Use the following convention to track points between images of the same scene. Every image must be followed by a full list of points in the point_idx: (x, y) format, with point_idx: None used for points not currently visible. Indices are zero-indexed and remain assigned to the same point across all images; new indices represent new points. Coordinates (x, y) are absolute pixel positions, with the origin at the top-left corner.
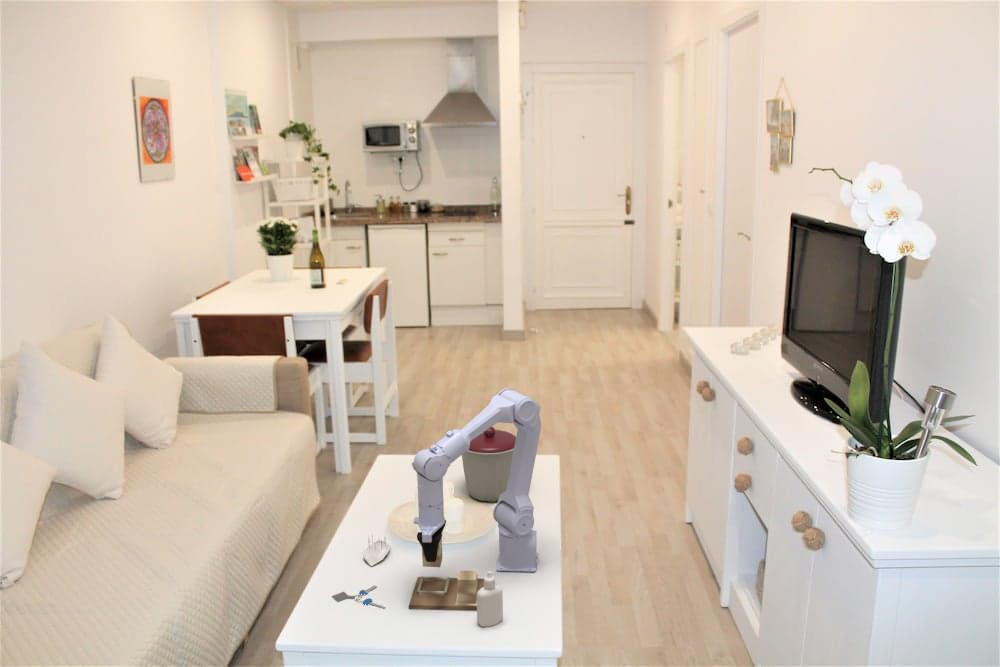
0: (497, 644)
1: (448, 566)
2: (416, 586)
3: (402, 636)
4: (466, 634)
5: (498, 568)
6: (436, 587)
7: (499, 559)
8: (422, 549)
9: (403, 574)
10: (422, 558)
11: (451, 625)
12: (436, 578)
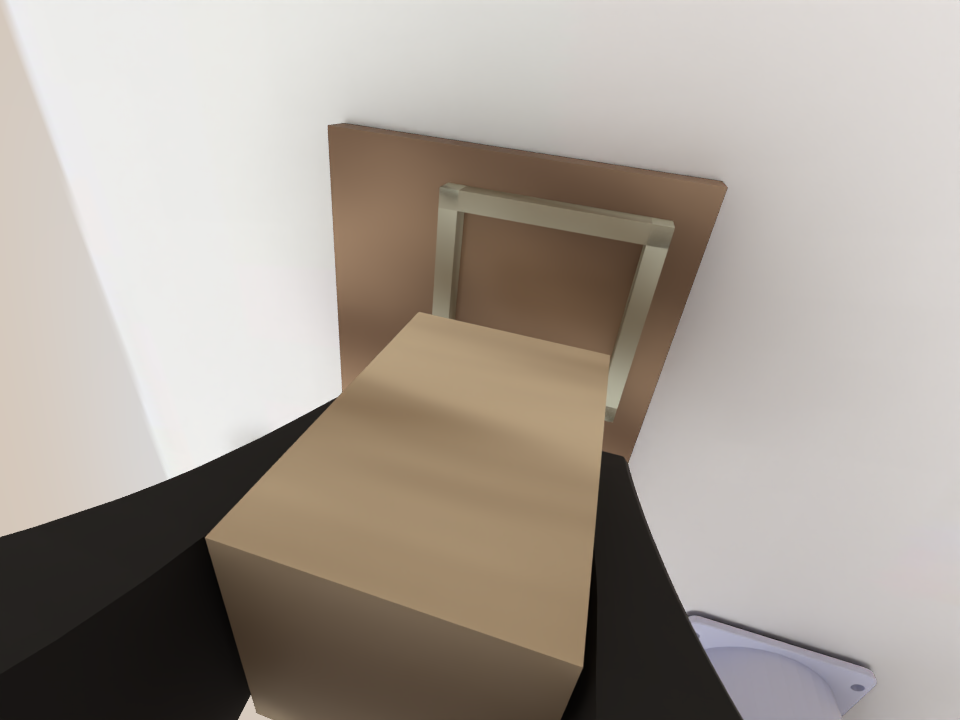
0: (175, 474)
1: (872, 417)
2: (569, 178)
3: (93, 96)
4: (198, 395)
5: (698, 629)
6: (536, 321)
7: (763, 671)
8: (296, 445)
9: (905, 25)
10: (376, 359)
11: (239, 349)
12: (618, 339)
